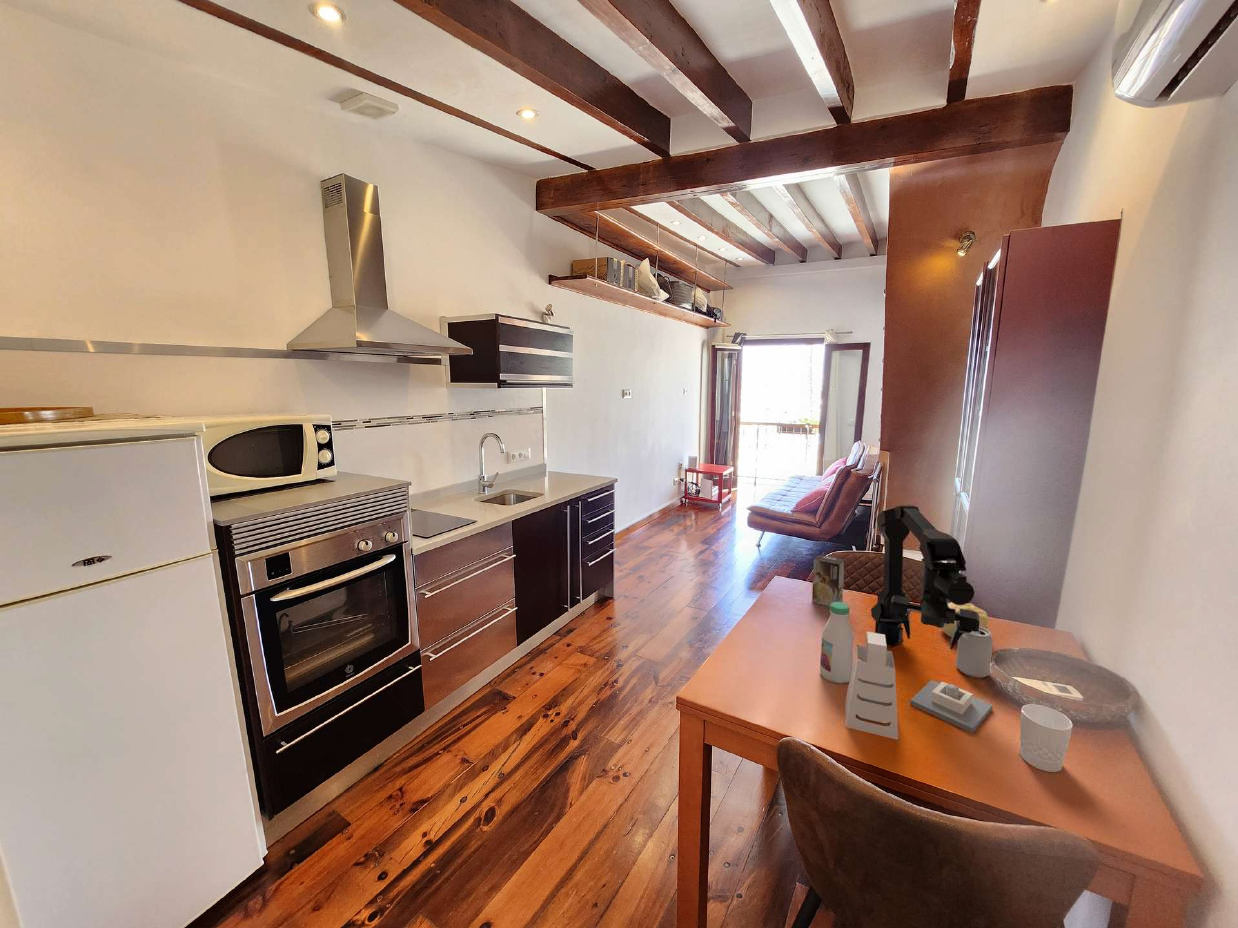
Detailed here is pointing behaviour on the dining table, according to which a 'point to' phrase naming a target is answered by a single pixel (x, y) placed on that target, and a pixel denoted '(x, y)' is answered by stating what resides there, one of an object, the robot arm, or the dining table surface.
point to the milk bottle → (837, 645)
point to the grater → (873, 688)
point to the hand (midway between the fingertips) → (929, 643)
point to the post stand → (965, 721)
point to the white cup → (1044, 737)
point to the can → (975, 653)
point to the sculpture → (983, 616)
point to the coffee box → (827, 580)
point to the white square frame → (951, 699)
